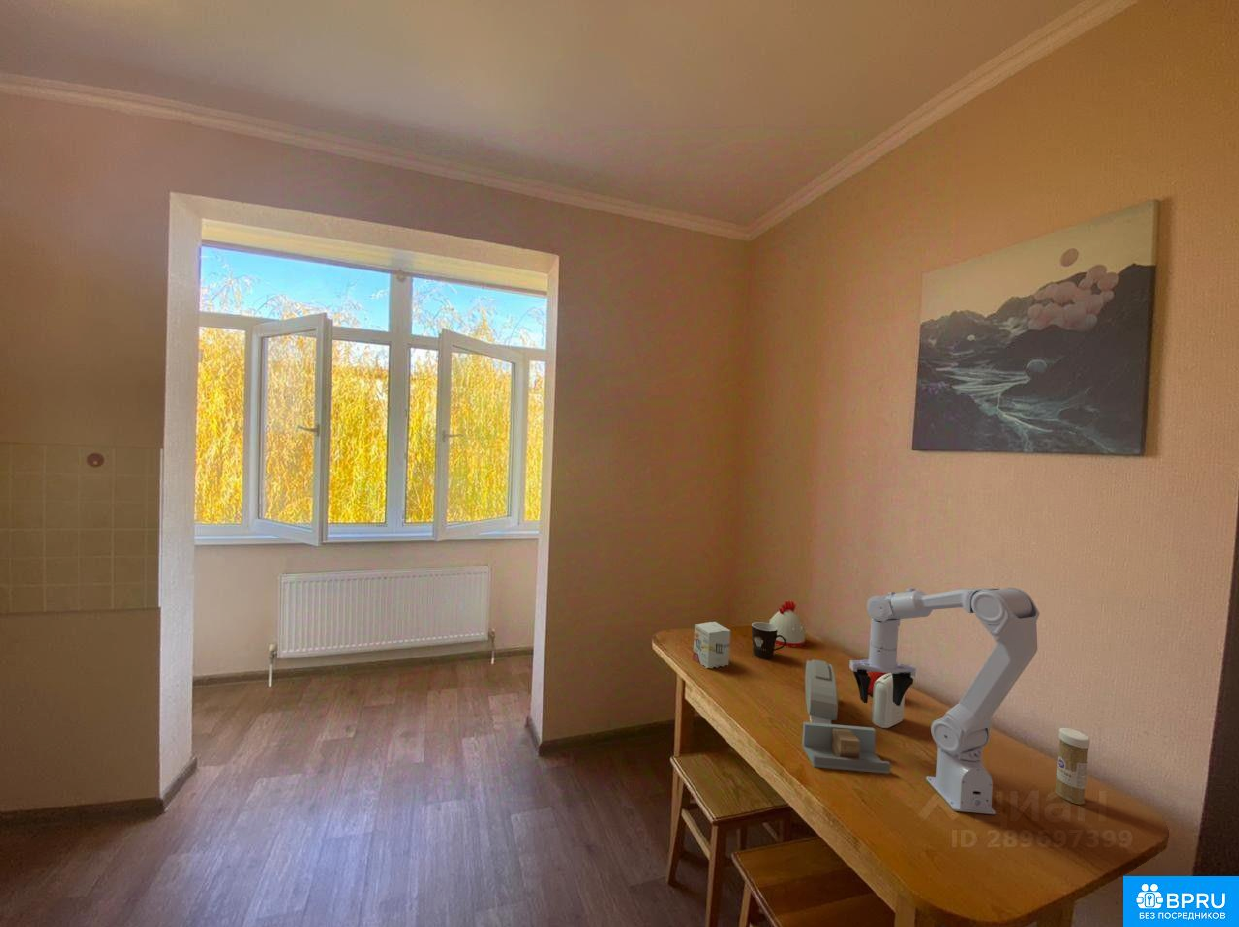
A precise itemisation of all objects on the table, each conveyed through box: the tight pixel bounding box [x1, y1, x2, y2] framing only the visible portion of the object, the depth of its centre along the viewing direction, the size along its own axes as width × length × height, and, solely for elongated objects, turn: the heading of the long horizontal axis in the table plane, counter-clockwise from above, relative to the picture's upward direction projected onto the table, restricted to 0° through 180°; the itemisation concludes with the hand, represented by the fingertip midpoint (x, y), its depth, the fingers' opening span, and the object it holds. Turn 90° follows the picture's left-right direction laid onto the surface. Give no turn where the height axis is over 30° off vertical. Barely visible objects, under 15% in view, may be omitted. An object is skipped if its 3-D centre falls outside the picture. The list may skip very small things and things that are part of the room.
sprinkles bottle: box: [1054, 727, 1090, 805], centre depth 97 cm, size 5×5×14 cm
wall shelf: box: [801, 721, 891, 775], centre depth 105 cm, size 8×16×6 cm, turn 87°
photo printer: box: [871, 673, 906, 729], centre depth 123 cm, size 10×4×12 cm, turn 123°
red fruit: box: [867, 671, 888, 697], centre depth 138 cm, size 8×7×15 cm
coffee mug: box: [751, 621, 786, 660], centre depth 161 cm, size 12×9×10 cm
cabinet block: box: [832, 729, 860, 759], centre depth 105 cm, size 5×4×5 cm
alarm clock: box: [804, 658, 839, 724], centre depth 126 cm, size 23×6×13 cm, turn 161°
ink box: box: [692, 621, 731, 669], centre depth 154 cm, size 9×9×12 cm
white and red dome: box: [768, 600, 806, 648], centre depth 178 cm, size 14×14×15 cm
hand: (879, 702), depth 112 cm, fingers open, 7 cm apart
